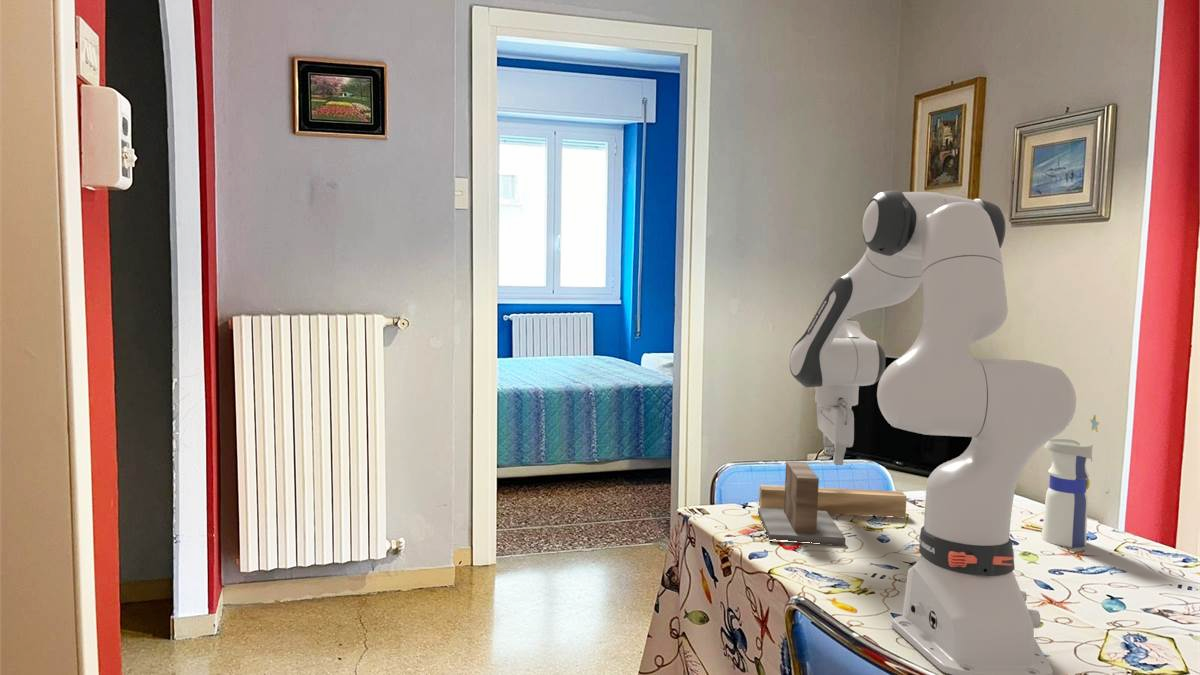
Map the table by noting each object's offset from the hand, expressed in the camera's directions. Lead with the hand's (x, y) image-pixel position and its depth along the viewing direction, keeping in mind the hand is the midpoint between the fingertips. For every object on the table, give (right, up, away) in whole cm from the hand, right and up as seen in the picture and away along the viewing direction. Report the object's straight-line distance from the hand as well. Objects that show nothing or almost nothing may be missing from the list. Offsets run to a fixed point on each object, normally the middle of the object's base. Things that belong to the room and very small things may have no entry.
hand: (833, 459), depth 179 cm
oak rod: (0, -12, +1) cm, 12 cm away
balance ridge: (-10, -12, -13) cm, 20 cm away
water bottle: (+41, -14, -15) cm, 45 cm away
